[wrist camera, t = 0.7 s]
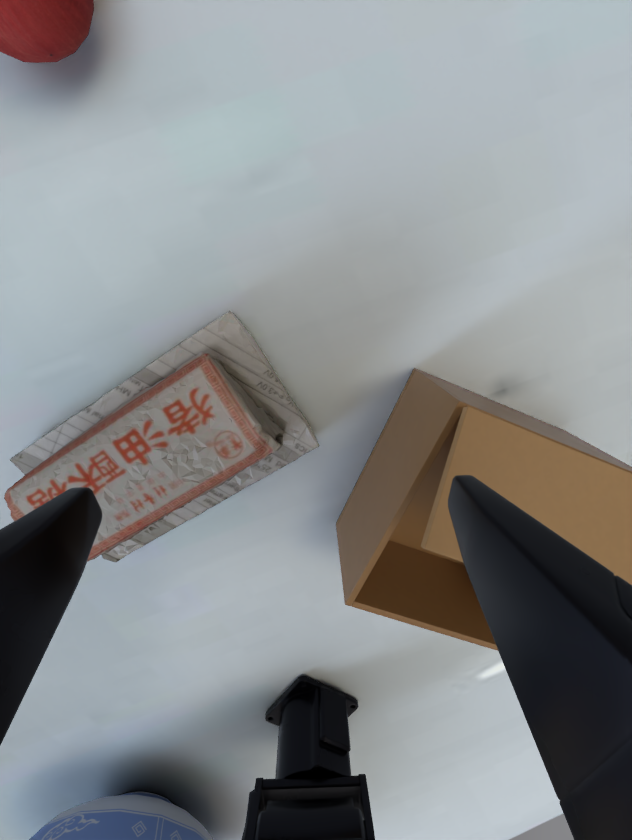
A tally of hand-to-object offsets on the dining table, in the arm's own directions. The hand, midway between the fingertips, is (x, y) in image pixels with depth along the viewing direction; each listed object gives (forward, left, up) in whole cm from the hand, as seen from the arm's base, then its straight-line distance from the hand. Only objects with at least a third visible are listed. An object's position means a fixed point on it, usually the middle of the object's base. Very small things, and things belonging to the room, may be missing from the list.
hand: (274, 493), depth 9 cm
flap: (+3, -13, -6) cm, 14 cm away
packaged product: (-9, +4, -15) cm, 18 cm away
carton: (-1, -13, -15) cm, 20 cm away
